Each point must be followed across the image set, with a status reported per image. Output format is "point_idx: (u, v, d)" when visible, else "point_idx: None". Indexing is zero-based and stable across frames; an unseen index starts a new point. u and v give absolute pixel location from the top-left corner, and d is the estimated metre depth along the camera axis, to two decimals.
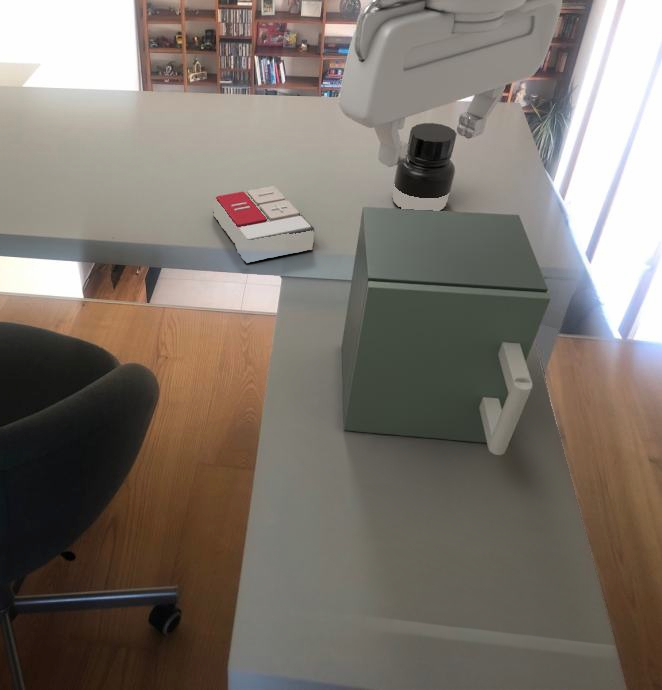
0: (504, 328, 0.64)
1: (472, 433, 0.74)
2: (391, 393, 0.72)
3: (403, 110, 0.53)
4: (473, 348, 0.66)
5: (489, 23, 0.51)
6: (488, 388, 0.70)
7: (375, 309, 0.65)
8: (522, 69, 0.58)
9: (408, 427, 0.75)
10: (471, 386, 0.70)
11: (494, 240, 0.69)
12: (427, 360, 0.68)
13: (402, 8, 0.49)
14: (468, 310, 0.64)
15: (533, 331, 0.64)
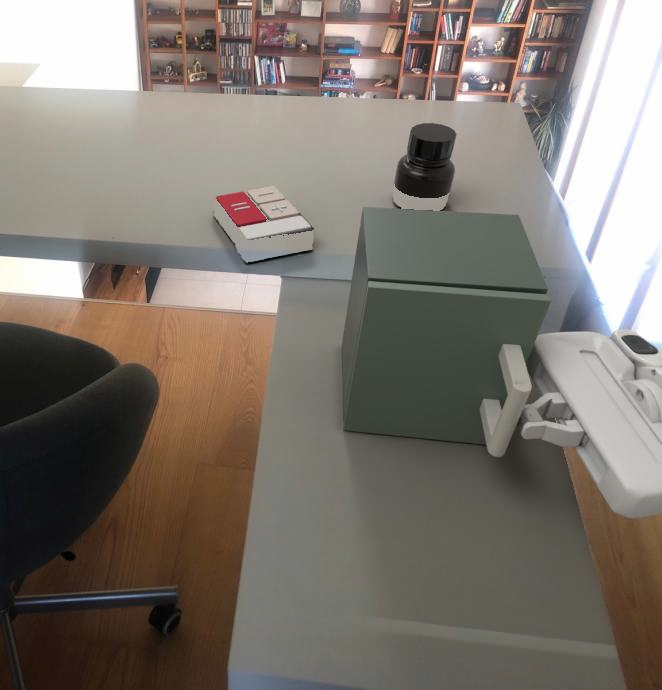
0: (504, 330, 0.64)
1: (472, 435, 0.74)
2: (391, 393, 0.72)
3: None
4: (473, 349, 0.66)
5: None
6: (488, 390, 0.69)
7: (375, 309, 0.65)
8: None
9: (408, 428, 0.75)
10: (471, 387, 0.70)
11: (494, 240, 0.69)
12: (426, 361, 0.68)
13: None
14: (468, 311, 0.63)
15: (533, 333, 0.64)
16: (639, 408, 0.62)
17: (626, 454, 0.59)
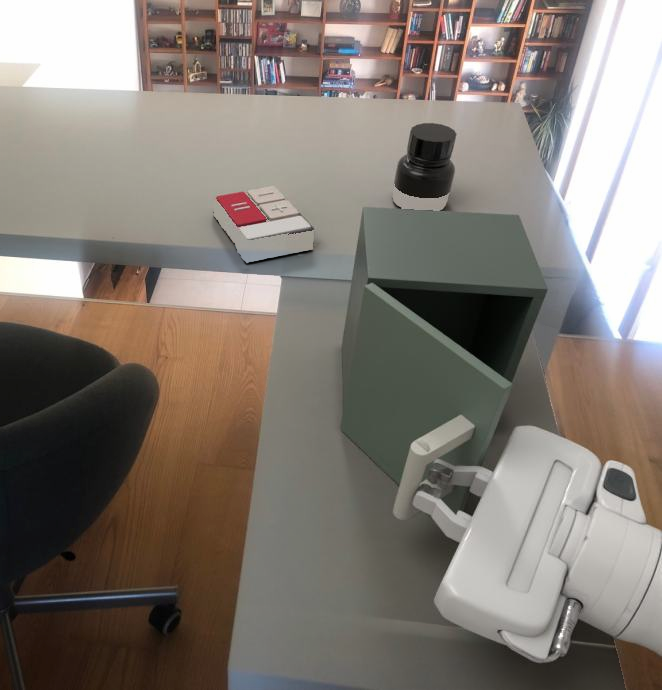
0: (463, 399, 0.58)
1: None
2: (374, 413, 0.70)
3: None
4: (437, 405, 0.61)
5: None
6: (447, 462, 0.63)
7: (367, 312, 0.65)
8: None
9: (384, 461, 0.71)
10: None
11: (494, 240, 0.69)
12: (401, 395, 0.65)
13: None
14: (435, 357, 0.59)
15: (487, 418, 0.56)
16: (551, 535, 0.53)
17: (480, 557, 0.52)
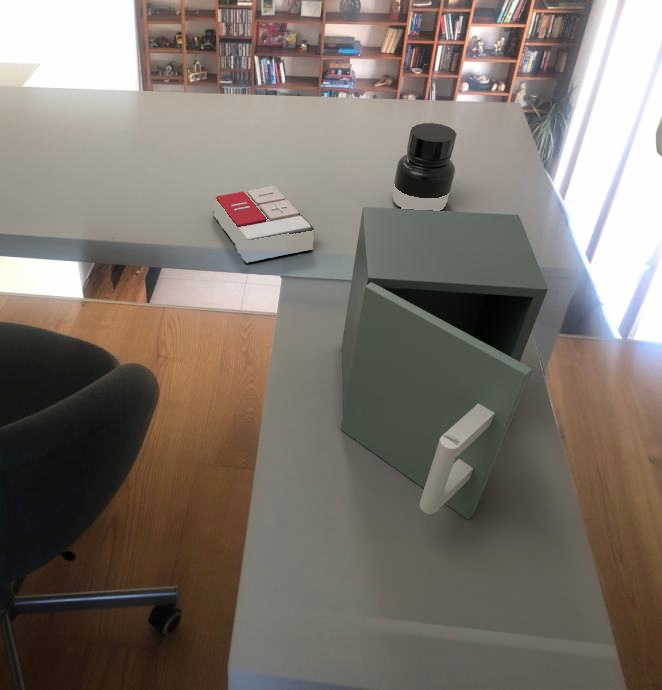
0: (480, 388, 0.59)
1: None
2: (380, 410, 0.70)
3: None
4: (451, 397, 0.62)
5: None
6: (464, 451, 0.64)
7: (369, 312, 0.65)
8: None
9: (392, 456, 0.72)
10: None
11: (494, 240, 0.69)
12: (410, 390, 0.65)
13: None
14: (447, 350, 0.60)
15: (508, 404, 0.57)
16: None
17: None
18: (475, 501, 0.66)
